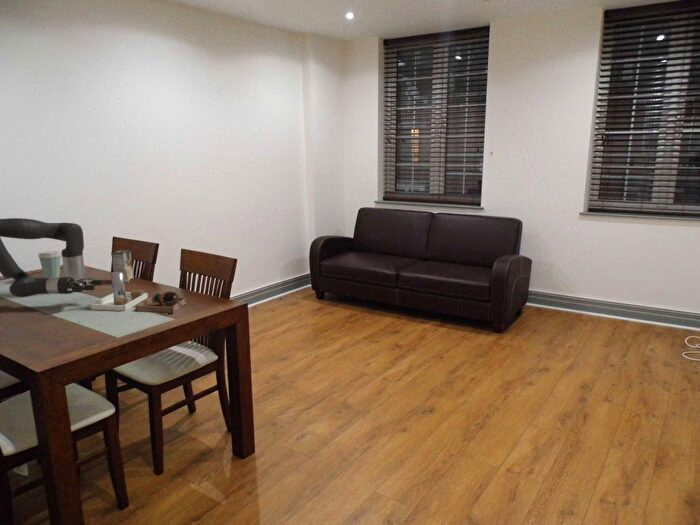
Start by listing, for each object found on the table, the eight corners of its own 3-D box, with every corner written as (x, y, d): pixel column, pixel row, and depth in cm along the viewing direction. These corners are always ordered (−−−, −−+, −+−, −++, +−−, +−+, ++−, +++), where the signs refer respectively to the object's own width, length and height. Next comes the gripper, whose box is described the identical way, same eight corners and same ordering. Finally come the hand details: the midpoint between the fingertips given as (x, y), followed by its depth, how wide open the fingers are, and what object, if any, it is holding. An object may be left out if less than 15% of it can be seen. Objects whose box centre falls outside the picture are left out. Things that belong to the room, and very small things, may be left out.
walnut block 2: (134, 298, 236) (133, 289, 235) (143, 298, 236) (142, 289, 236) (131, 300, 232) (130, 292, 231) (140, 300, 233) (139, 292, 232)
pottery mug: (183, 304, 231) (183, 292, 226) (174, 319, 224) (173, 306, 219) (158, 297, 231) (157, 284, 226) (148, 312, 224) (147, 299, 219)
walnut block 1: (122, 306, 224) (121, 297, 223) (129, 307, 223) (128, 298, 222) (115, 308, 221) (114, 300, 220) (122, 309, 219) (121, 301, 218)
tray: (115, 297, 239) (115, 291, 239) (148, 299, 238) (147, 292, 237) (90, 311, 220) (89, 304, 219) (125, 312, 218) (124, 305, 218)
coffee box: (122, 278, 274) (119, 249, 271) (133, 278, 274) (131, 249, 271) (114, 283, 265) (111, 253, 262) (126, 283, 265) (123, 253, 262)
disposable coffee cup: (47, 276, 278) (43, 249, 274) (67, 276, 279) (64, 249, 275) (37, 281, 267) (33, 253, 264) (59, 281, 268) (55, 253, 265)
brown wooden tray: (152, 302, 233) (152, 296, 232) (187, 303, 231) (187, 297, 230) (136, 312, 218) (135, 306, 218) (173, 314, 217) (172, 307, 216)
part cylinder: (117, 301, 231) (114, 271, 228) (128, 301, 231) (125, 271, 228) (111, 304, 226) (108, 274, 223) (122, 305, 226) (119, 274, 223)
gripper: (51, 281, 217) (90, 281, 219) (67, 273, 231) (103, 272, 232) (53, 298, 219) (92, 297, 220) (69, 289, 233) (105, 288, 234)
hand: (98, 284), depth 226 cm, fingers open, 8 cm apart
